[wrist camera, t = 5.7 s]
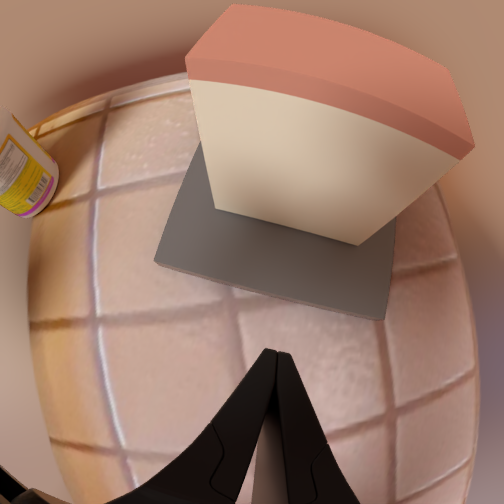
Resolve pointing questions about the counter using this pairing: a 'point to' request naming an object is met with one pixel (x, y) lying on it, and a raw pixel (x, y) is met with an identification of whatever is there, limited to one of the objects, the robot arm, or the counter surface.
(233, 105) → the key
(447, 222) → the counter surface
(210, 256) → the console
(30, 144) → the supplement bottle
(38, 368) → the counter surface
